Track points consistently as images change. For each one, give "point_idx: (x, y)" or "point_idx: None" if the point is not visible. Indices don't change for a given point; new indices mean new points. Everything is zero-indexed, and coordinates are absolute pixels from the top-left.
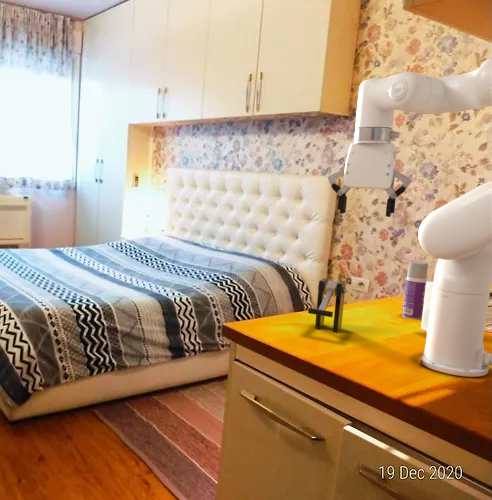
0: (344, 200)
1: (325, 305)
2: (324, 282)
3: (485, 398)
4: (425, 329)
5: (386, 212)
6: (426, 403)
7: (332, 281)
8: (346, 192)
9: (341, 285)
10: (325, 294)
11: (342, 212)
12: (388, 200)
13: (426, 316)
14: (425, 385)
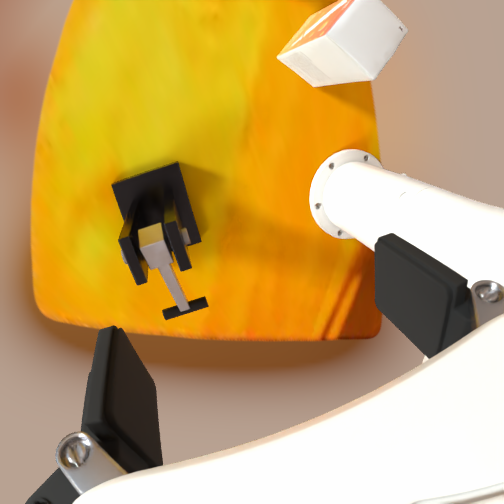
0: (154, 441)
1: (185, 299)
2: (143, 271)
3: None
4: (291, 63)
5: (388, 314)
6: (343, 325)
7: (151, 247)
8: (112, 458)
9: (191, 266)
10: (137, 234)
11: (153, 387)
12: (433, 356)
13: (301, 59)
14: (337, 288)
